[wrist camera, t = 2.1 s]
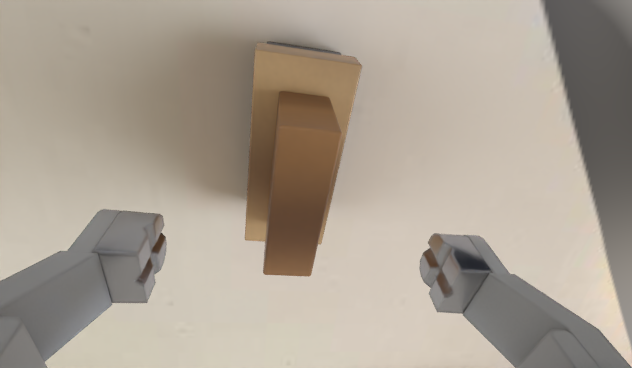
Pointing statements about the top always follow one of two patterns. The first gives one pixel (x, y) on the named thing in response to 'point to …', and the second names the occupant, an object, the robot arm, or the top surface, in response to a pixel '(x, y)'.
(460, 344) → the top surface
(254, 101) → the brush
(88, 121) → the top surface
